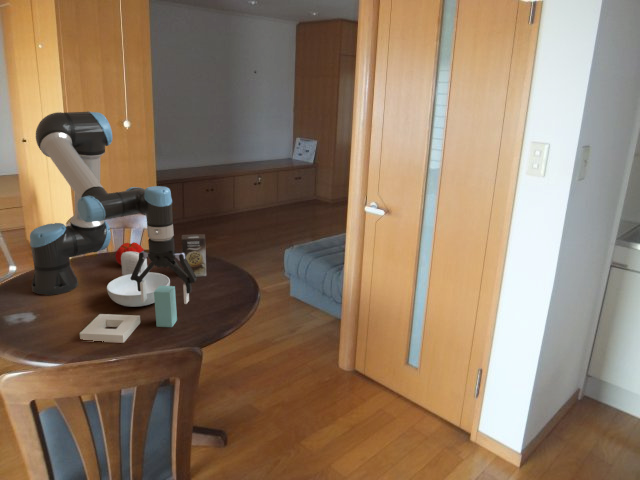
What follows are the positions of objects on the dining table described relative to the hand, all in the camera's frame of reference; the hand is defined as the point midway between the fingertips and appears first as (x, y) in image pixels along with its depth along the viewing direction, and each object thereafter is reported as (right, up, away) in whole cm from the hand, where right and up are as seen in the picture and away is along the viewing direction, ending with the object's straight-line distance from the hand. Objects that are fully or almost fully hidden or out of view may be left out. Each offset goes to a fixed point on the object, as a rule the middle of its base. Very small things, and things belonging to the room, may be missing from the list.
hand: (165, 301), depth 157 cm
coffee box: (-2, +5, +44) cm, 44 cm away
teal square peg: (0, -7, +2) cm, 8 cm away
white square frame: (-15, -9, -4) cm, 18 cm away
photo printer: (-22, +3, +34) cm, 40 cm away
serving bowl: (-15, -2, +18) cm, 23 cm away
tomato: (-30, +9, +51) cm, 60 cm away
